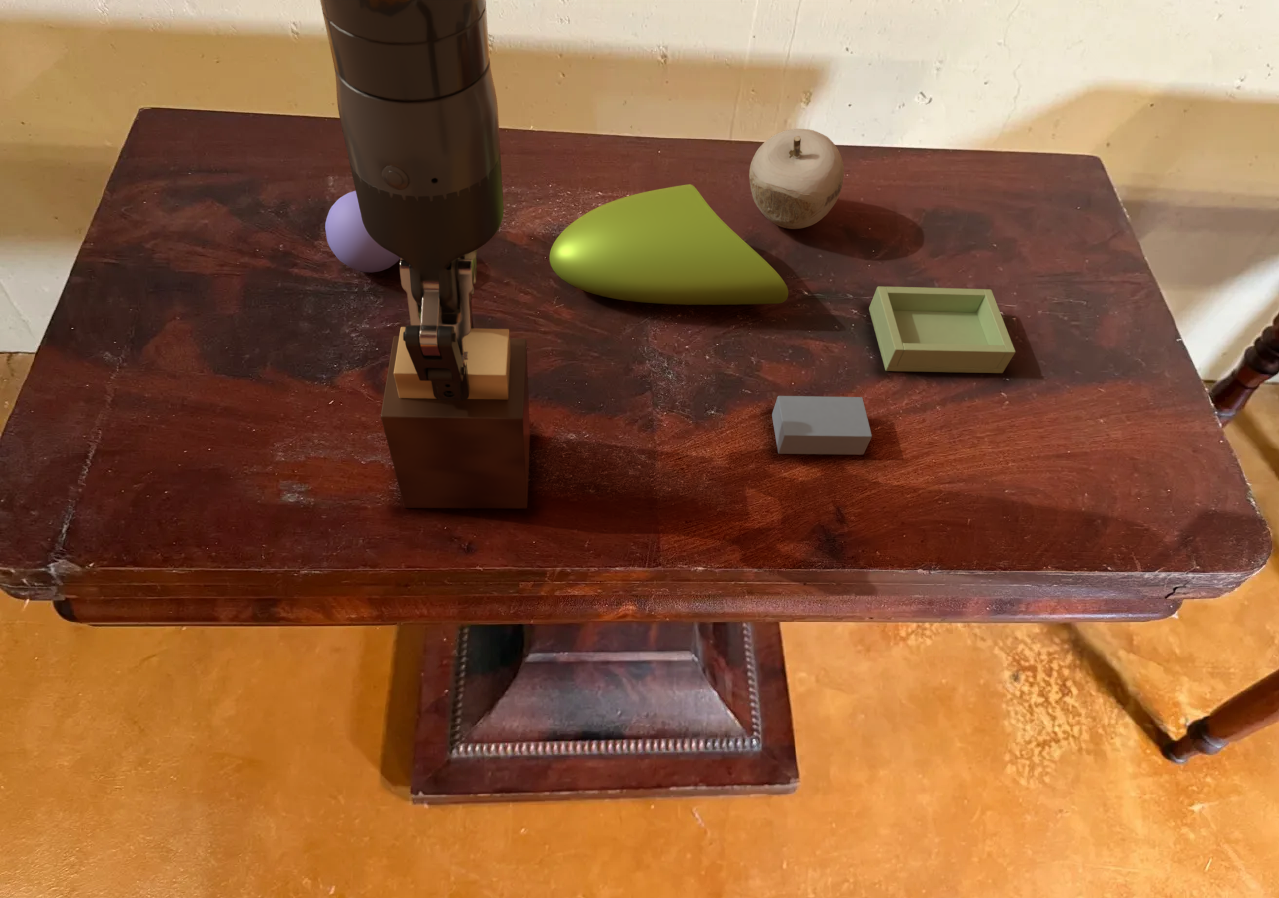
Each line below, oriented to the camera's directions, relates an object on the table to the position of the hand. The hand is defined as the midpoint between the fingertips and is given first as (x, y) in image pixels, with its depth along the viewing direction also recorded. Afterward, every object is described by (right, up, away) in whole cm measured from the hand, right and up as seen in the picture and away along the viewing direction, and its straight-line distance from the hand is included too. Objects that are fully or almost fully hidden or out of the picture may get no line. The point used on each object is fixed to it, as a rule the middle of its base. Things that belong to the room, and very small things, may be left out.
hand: (455, 367), depth 58 cm
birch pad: (0, 0, +1) cm, 1 cm away
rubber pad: (+27, -4, +14) cm, 30 cm away
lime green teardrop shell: (+14, +10, +23) cm, 29 cm away
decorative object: (+27, +17, +30) cm, 43 cm away
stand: (-1, -7, +9) cm, 12 cm away
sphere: (-12, +11, +22) cm, 27 cm away
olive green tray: (+39, +4, +21) cm, 44 cm away
